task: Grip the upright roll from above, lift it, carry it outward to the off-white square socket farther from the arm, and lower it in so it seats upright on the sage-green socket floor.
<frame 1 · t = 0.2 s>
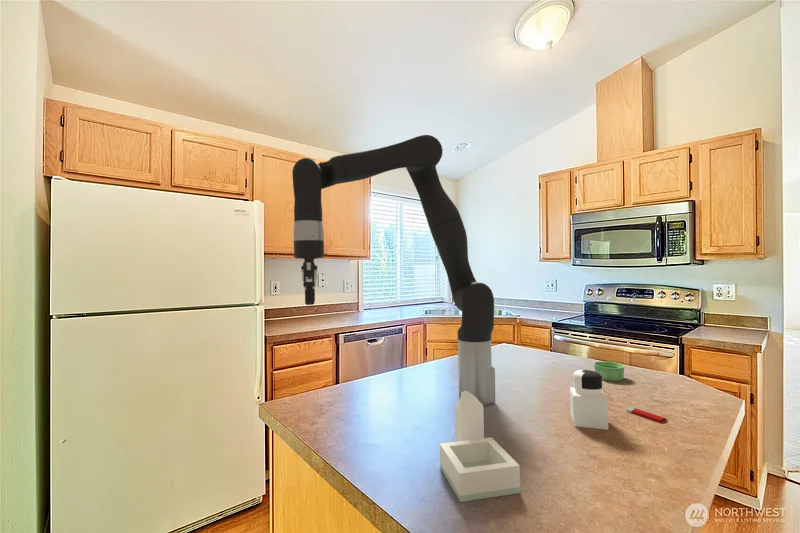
hand: (310, 303, 94), 29 cm above the countertop, tool pointing down, fingers open, 8 cm apart
roll: (469, 449, 76), on the countertop
socket: (477, 479, 64), on the countertop
lighter: (645, 418, 90), on the countertop
medicine bottle: (588, 423, 87), on the countertop
ramekin: (609, 378, 122), on the countertop
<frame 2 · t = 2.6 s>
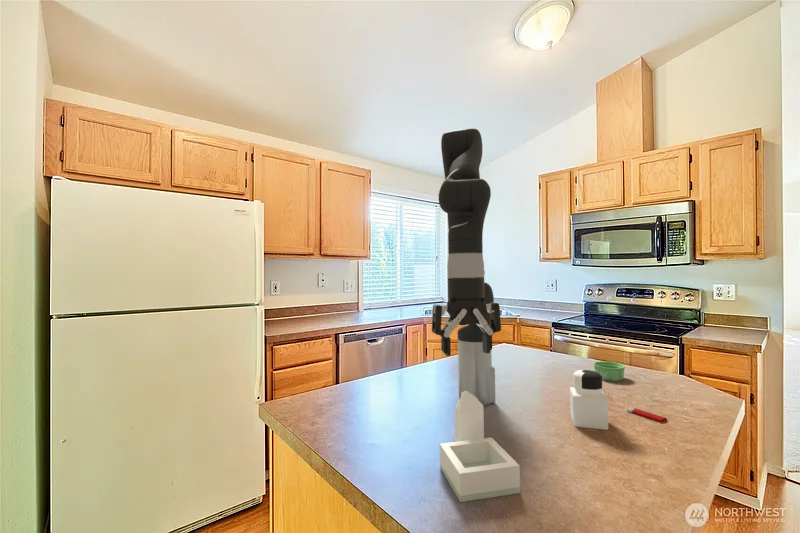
hand: (466, 353, 76), 19 cm above the countertop, tool pointing down, fingers open, 8 cm apart
nothing on the countertop moved.
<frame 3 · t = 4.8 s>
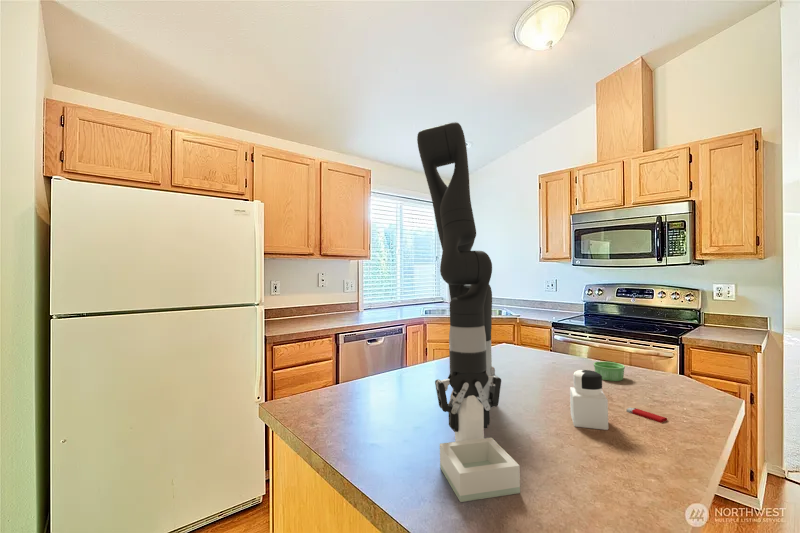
hand: (469, 428, 76), 4 cm above the countertop, tool pointing down, fingers closed on roll, 5 cm apart
roll: (469, 449, 76), on the countertop, touching gripper
everything else where it was.
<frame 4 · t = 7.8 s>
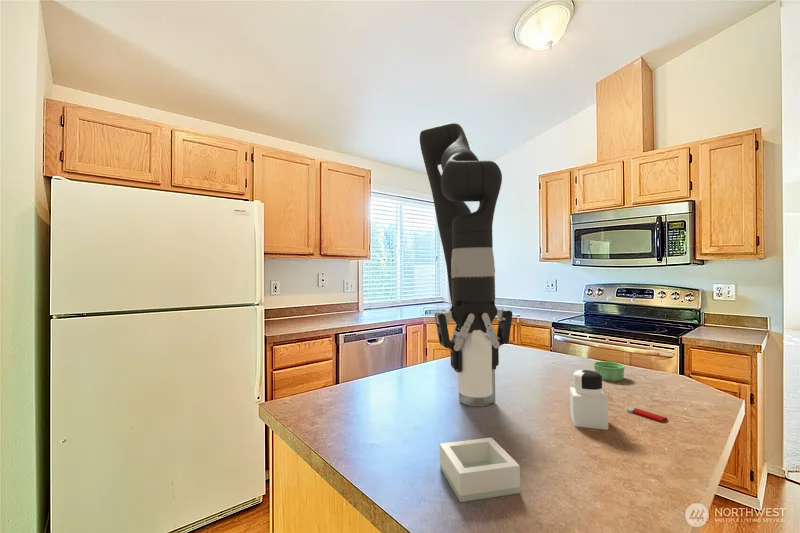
hand: (474, 369, 65), 19 cm above the countertop, tool pointing down, fingers closed on roll, 5 cm apart
roll: (475, 393, 65), point 15 cm above the countertop, touching gripper
everything else where it was.
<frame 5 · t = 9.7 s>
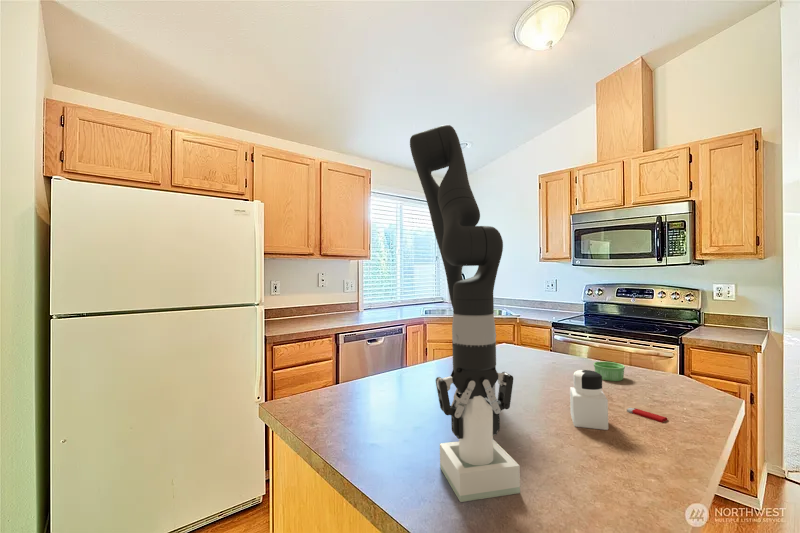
hand: (475, 434, 65), 8 cm above the countertop, tool pointing down, fingers closed on roll, 5 cm apart
roll: (476, 459, 65), point 4 cm above the countertop, touching gripper
everything else where it was.
when the fingers open (6 cm above the countertop, at t = 11.0 s): roll drops 1 cm, resting on socket.
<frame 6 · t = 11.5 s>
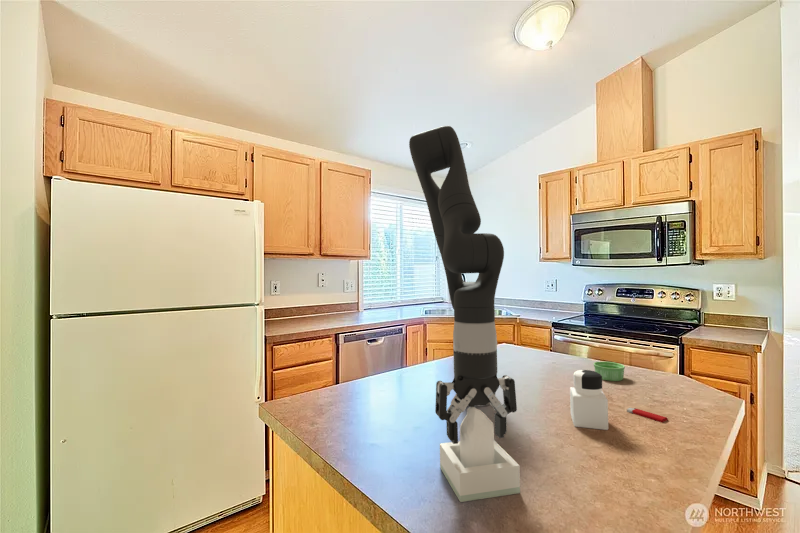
hand: (476, 439, 65), 7 cm above the countertop, tool pointing down, fingers open, 8 cm apart
roll: (477, 474, 65), point 1 cm above the countertop, touching socket
everything else where it was.
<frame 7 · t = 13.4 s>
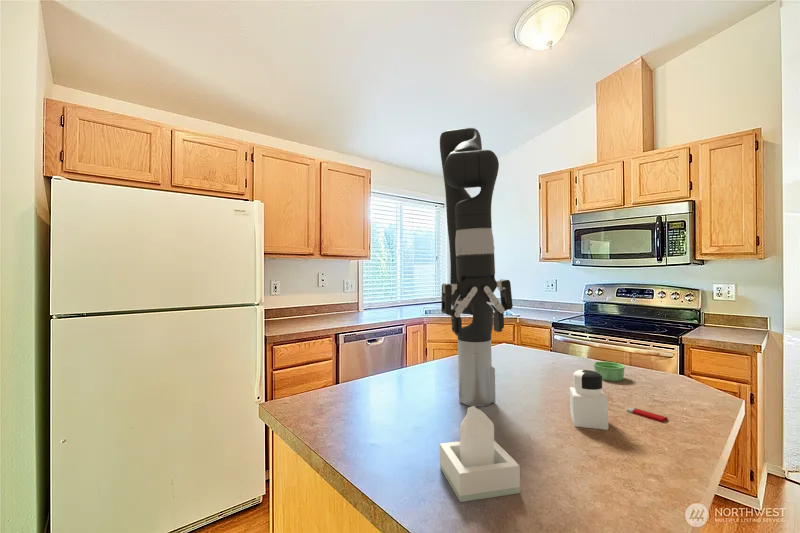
hand: (478, 333, 74), 24 cm above the countertop, tool pointing down, fingers open, 8 cm apart
nothing on the countertop moved.
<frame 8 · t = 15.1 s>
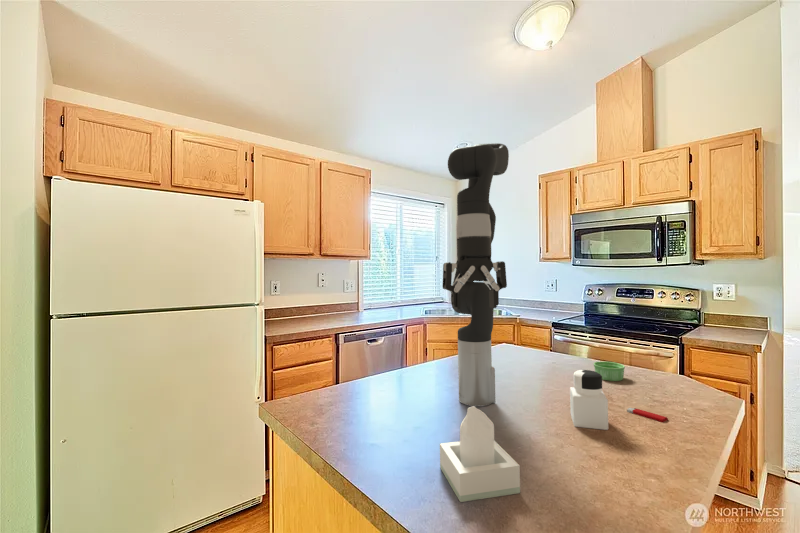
hand: (475, 308, 82), 28 cm above the countertop, tool pointing down, fingers open, 8 cm apart
nothing on the countertop moved.
at the end: roll 0.1 cm off-centre on the socket, point 0.8 cm above the socket's base; roll tilted 0°; the gripper is holding nothing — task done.
